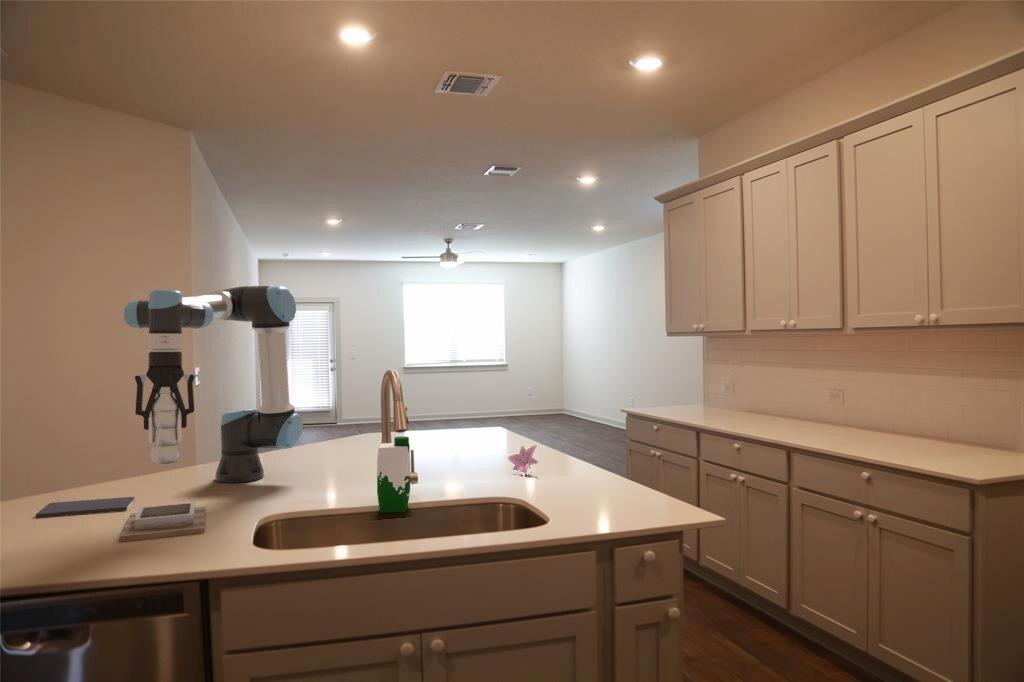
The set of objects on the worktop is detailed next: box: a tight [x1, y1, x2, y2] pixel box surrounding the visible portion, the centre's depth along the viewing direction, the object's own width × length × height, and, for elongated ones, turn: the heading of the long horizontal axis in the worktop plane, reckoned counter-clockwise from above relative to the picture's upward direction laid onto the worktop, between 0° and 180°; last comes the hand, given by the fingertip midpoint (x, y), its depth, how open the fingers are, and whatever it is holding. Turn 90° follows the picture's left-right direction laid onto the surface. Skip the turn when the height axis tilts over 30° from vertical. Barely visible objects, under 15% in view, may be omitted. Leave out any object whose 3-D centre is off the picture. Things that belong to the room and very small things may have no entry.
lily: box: [507, 444, 539, 474], centre depth 234 cm, size 12×12×10 cm
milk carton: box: [376, 436, 411, 514], centre depth 186 cm, size 9×9×20 cm
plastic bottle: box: [150, 386, 181, 466], centre depth 170 cm, size 6×7×20 cm
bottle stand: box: [119, 501, 207, 543], centre depth 170 cm, size 22×18×4 cm
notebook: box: [35, 496, 135, 519], centre depth 186 cm, size 13×2×21 cm
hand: (165, 441), depth 170 cm, fingers closed on plastic bottle, 6 cm apart
